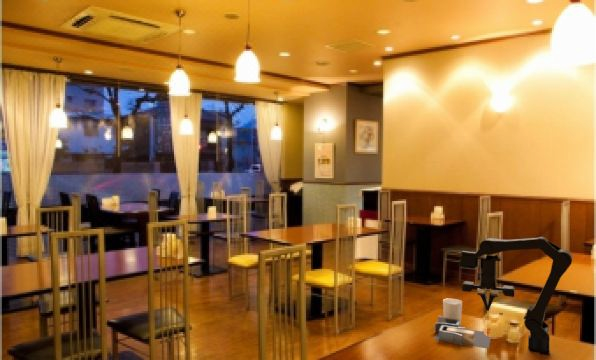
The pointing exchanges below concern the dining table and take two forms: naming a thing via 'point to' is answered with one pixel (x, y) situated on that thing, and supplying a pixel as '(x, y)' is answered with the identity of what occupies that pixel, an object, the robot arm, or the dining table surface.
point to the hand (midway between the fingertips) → (487, 310)
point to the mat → (476, 339)
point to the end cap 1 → (446, 323)
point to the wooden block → (464, 334)
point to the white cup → (452, 308)
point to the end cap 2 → (450, 335)
